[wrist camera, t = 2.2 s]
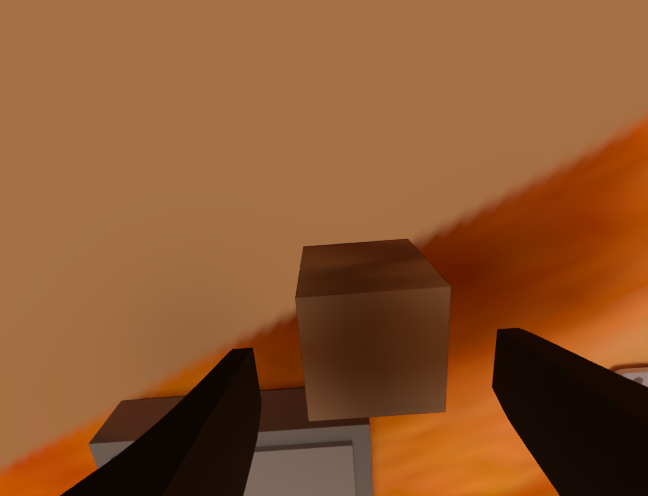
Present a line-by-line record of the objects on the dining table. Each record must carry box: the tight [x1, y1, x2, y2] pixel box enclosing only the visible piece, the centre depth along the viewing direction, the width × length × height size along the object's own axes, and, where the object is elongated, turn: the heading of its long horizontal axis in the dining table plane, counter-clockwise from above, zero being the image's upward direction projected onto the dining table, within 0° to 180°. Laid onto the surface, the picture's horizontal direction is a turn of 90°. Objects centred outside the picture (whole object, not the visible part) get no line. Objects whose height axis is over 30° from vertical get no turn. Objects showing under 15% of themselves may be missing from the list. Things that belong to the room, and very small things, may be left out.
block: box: [295, 239, 451, 421], centre depth 13 cm, size 4×4×5 cm
